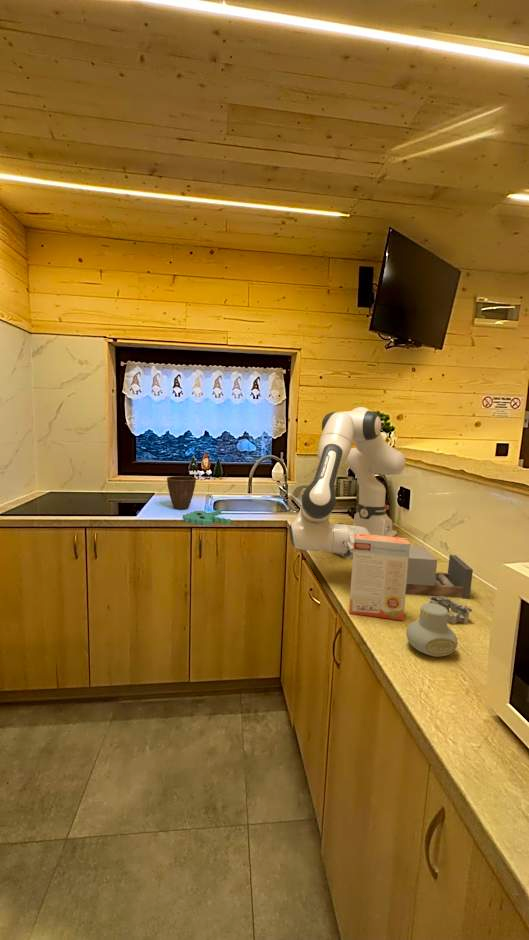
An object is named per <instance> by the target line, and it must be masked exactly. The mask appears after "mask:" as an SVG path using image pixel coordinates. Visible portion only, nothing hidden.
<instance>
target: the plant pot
mask: <svg viewBox="0 0 529 940" xmlns="http://www.w3.org/2000/svg"><path fill="white" fill-rule="evenodd" d="M166 482H167V489H168V494H169V498H170V500H171V504H172V506H173V509H174V510H177V511H178V510H179V511H183V510H184V511H185V510H187V509H189V508H190V505H191V503H192V499H193V497H194V496H193V495H194V493H195V486H196V483H197V478H196V477H194V476H189V475H187V476H185V475H179V476H178V475H175V476H167V477H166Z"/></svg>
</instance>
